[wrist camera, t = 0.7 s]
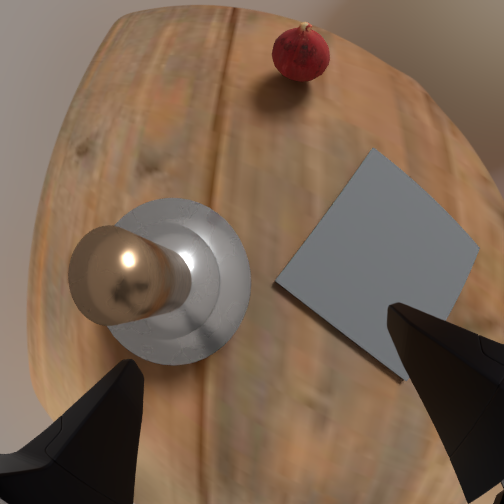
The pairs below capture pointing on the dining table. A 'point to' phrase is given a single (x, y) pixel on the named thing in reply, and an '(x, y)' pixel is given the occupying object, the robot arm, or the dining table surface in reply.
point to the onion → (301, 53)
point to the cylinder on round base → (164, 280)
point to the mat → (380, 258)
